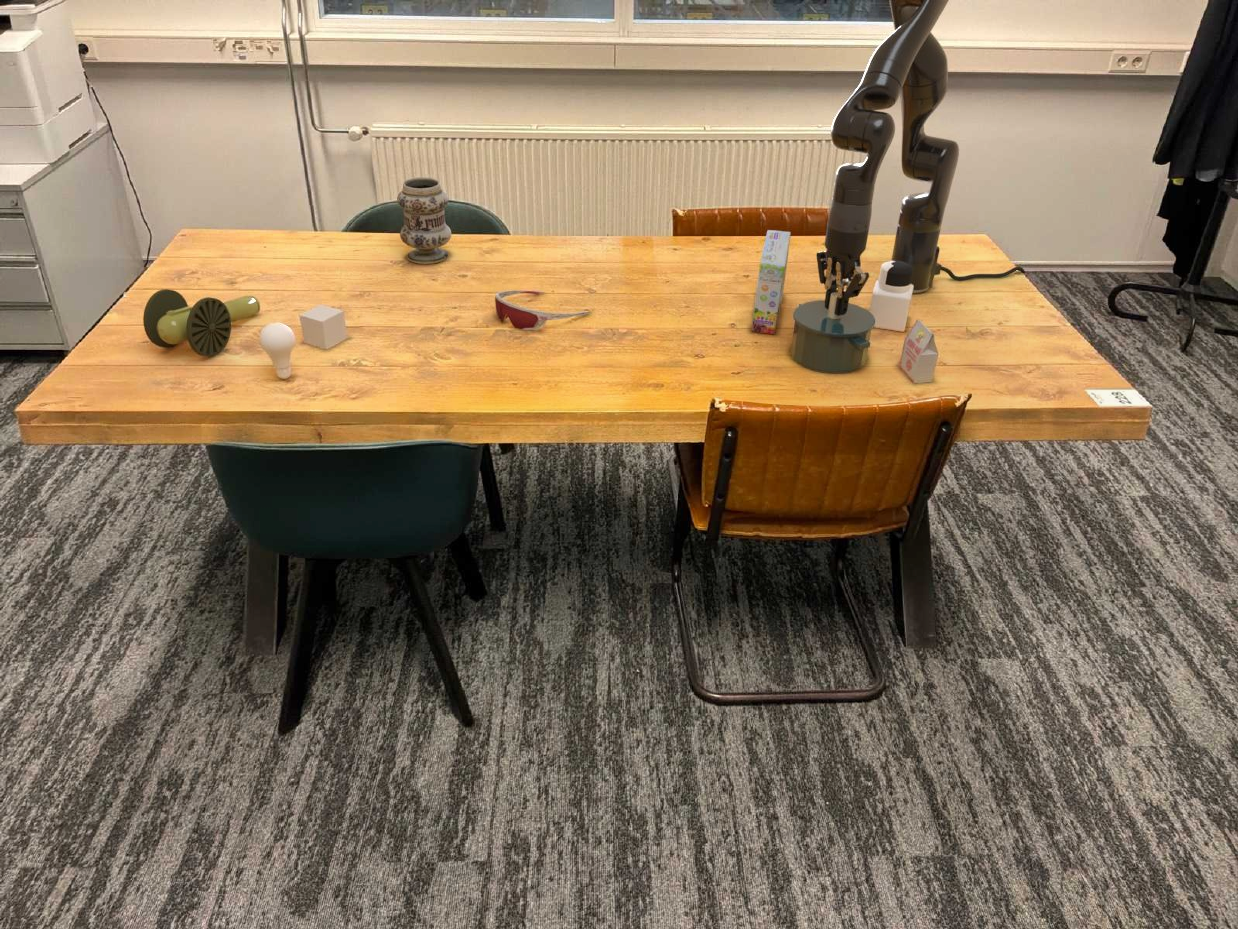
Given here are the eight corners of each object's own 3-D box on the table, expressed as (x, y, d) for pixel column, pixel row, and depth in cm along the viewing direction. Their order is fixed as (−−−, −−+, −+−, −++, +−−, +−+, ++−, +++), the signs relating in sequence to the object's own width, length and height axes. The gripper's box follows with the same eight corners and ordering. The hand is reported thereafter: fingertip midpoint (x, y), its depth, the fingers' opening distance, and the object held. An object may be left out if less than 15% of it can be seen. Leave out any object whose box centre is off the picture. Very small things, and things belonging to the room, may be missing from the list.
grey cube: (326, 349, 186) (321, 321, 182) (304, 342, 188) (298, 315, 185) (348, 338, 190) (343, 310, 187) (325, 331, 193) (320, 304, 189)
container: (907, 317, 203) (918, 260, 196) (904, 332, 197) (916, 273, 189) (870, 312, 205) (880, 255, 198) (866, 326, 199) (876, 268, 192)
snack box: (777, 335, 194) (786, 266, 186) (750, 332, 195) (757, 263, 187) (783, 295, 212) (791, 230, 203) (758, 292, 213) (765, 227, 204)
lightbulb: (271, 370, 178) (260, 317, 172) (305, 370, 179) (294, 316, 172) (264, 386, 173) (252, 331, 167) (298, 385, 173) (287, 331, 167)
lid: (841, 300, 192) (846, 274, 189) (891, 331, 180) (896, 303, 177) (777, 313, 186) (780, 286, 183) (823, 345, 174) (828, 317, 171)
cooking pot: (828, 329, 197) (833, 294, 193) (889, 371, 182) (897, 333, 178) (769, 342, 192) (773, 305, 188) (827, 385, 177) (833, 347, 173)
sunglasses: (477, 313, 200) (479, 290, 198) (535, 303, 212) (537, 282, 210) (532, 339, 191) (535, 315, 188) (590, 327, 203) (593, 304, 200)
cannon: (232, 308, 201) (220, 257, 195) (279, 317, 198) (268, 266, 191) (145, 358, 181) (129, 303, 175) (195, 369, 178) (181, 314, 172)
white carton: (916, 365, 184) (926, 318, 179) (932, 381, 179) (942, 333, 173) (899, 366, 184) (908, 319, 178) (913, 383, 178) (924, 335, 173)
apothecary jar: (448, 266, 222) (442, 190, 212) (397, 265, 222) (388, 189, 212) (456, 248, 232) (451, 175, 223) (408, 247, 232) (400, 173, 223)
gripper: (889, 233, 168) (873, 322, 178) (842, 209, 179) (829, 294, 188) (855, 239, 166) (840, 329, 175) (809, 214, 176) (798, 300, 186)
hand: (834, 310), depth 182 cm, fingers closed on lid, 2 cm apart
